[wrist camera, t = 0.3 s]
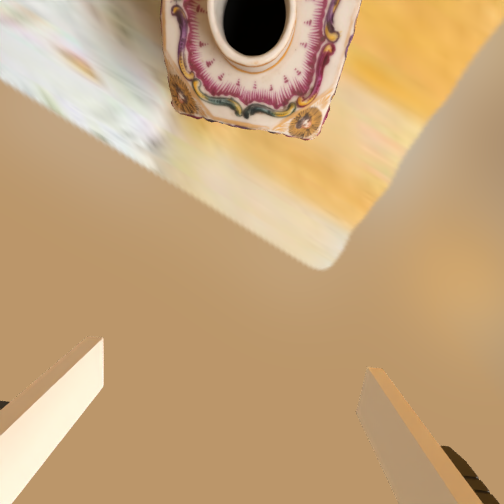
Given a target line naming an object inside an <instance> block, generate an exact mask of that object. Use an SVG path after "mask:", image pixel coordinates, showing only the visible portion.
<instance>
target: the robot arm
mask: <svg viewBox="0 0 504 504" xmlns="http://www.w3.org/2000/svg"><path fill="white" fill-rule="evenodd" d="M103 378H104V374H103V338H101V337H92V336H87V337H86V338H85V339H84V340H82V341H81V342H80V343H79V344H78V345H76V346H75V347H74V348H73V349H72V350H71V351H69V352H68V353H67V354H66V355H65V356H64V357H62V358H61V359H60V360H59V361H58V362H56V363H55V364H54V365H53V366H52V367H51V368H49V369H48V370H47V371H46V372H45V373H44V374H42V375H41V376H40V377H39V378H38V379H37V380H35V381H34V382H33V383H32V384H31V385H30V386H28V387H27V388H26V389H25V390H24V391H22V392H21V393H20V394H19V395H18V396H16V397H15V398H14V399H13V400H12V401H11V402H6V401H0V504H12V502H13V501H14V500H15V499H16V497H17V496H18V495H19V493H20V492H21V491H22V490H23V488H24V487H25V486H26V485H27V483H28V482H29V480H30V479H31V478H32V477H33V475H34V474H35V473H36V472H37V470H38V469H39V468H40V467H41V465H42V464H43V463H44V461H45V460H46V459H47V457H48V456H49V455H50V454H51V453H52V451H53V450H54V449H55V448H56V446H57V445H58V443H59V442H60V441H61V440H62V439H63V437H64V436H65V435H66V433H67V432H68V431H69V430H70V428H71V427H72V426H73V425H74V423H75V422H76V421H77V419H78V418H79V417H80V416H81V414H82V413H83V412H84V410H85V409H86V408H87V407H88V405H89V404H90V403H91V402H92V400H93V399H94V398H95V396H96V395H97V394H98V393H99V391H100V390H101V389H102V387H103V386H104V383H103V382H104V379H103ZM356 414H357V416H358V418H359V420H360V422H361V424H362V427H363V429H364V431H365V433H366V435H367V437H368V439H369V442H370V444H371V446H372V448H373V450H374V452H375V454H376V456H377V459H378V460H379V462H380V465H381V467H382V469H383V471H384V473H385V475H386V478H387V480H388V482H389V484H390V486H391V488H392V490H393V492H394V495H395V497H396V499H397V501H398V503H399V504H499V503H498V501H497V500H496V499H495V498H494V496H493V495H491V494H490V492H489V490H488V489H487V487H486V486H485V485H484V484H483V482H482V481H481V480H479V479H478V477H477V475H476V474H475V473H474V471H473V470H472V469H471V467H470V466H469V465H468V464H467V462H466V461H465V460H464V459H462V458H461V457H460V456H459V455H458V454H457V453H456V452H454V451H453V450H452V449H451V448H450V447H448V446H440V445H439V444H438V443H437V441H436V440H435V438H434V437H433V436H432V434H431V433H430V432H429V430H428V429H427V428H426V426H425V425H424V424H423V422H422V421H421V420H420V418H419V417H418V416H417V414H416V413H415V412H414V410H413V409H412V408H411V406H410V405H409V403H408V402H407V401H406V399H405V398H404V397H403V395H402V394H401V393H400V392H399V390H398V389H397V387H396V386H395V385H394V383H393V382H392V381H391V379H390V378H389V377H388V375H387V374H386V373H385V371H384V370H383V369H382V368H373V367H367V371H366V374H365V379H364V382H363V387H362V391H361V395H360V399H359V403H358V407H357V411H356Z"/></svg>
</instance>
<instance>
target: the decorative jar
mask: <svg viewBox="0 0 504 504" xmlns="http://www.w3.org/2000/svg"><path fill="white" fill-rule="evenodd" d="M361 1H362V0H161V10H160V21H161V32H162V40H163V53H164V57H165V60H164V62H165V64H166V67H167V72H168V82H169V87H170V91H171V95H172V102H171V104H172V106H173V107H174V109H175V110H176V111H177V112H178V113H180V114H183V115H187V116H190V117H193V118H196V119H200V118H205V119H206V120H207V121H210V122H219V123H222V124H226V125H229V126H232V127H238V128H242V129H248V130H257V129H258V130H265V131H268V132H270V133H274V134H284V135H286V136H287V137H296V138H300V139H303V140H312V139H314V138H315V137H316V136H318V135H319V134H320V132H321V128H322V125H323V124H324V121H325V120H326V118H327V116H328V112H329V110H330V106H329V104H330V102H331V100H332V98H333V96H334V95H335V92H336V88H337V85H338V81H339V79H340V76H341V72H342V69H343V66H344V63H345V60H346V57H347V51H348V47H349V45H350V43H351V41H352V38H353V35H354V32H355V28H356V23H357V18H358V13H359V8H360V5H361Z"/></svg>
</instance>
